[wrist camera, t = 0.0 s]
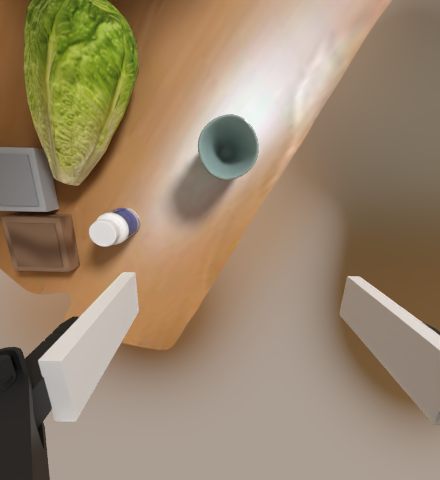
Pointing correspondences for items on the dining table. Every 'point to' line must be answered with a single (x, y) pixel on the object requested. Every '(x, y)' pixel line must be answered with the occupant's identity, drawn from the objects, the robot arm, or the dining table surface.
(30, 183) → the stand
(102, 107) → the lettuce
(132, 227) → the pill bottle
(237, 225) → the dining table surface
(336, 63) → the dining table surface
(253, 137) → the cup
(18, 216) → the stand
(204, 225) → the dining table surface
